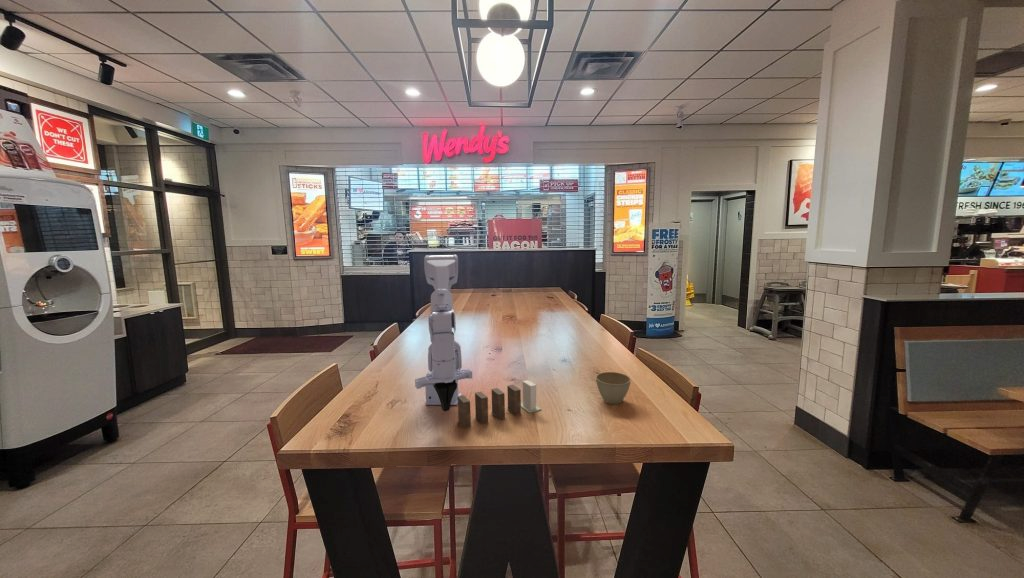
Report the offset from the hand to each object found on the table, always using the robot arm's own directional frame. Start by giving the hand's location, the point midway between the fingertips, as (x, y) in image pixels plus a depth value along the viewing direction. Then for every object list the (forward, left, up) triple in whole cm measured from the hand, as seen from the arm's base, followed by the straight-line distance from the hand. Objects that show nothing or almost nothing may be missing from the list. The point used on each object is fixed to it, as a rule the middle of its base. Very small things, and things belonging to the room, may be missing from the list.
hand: (445, 409), depth 99 cm
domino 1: (+4, +3, -5) cm, 7 cm away
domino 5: (+21, +13, -5) cm, 26 cm away
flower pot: (+46, +19, -5) cm, 50 cm away
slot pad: (+21, +13, -5) cm, 26 cm away
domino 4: (+17, +11, -5) cm, 21 cm away
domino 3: (+13, +8, -5) cm, 16 cm away
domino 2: (+8, +5, -5) cm, 11 cm away
